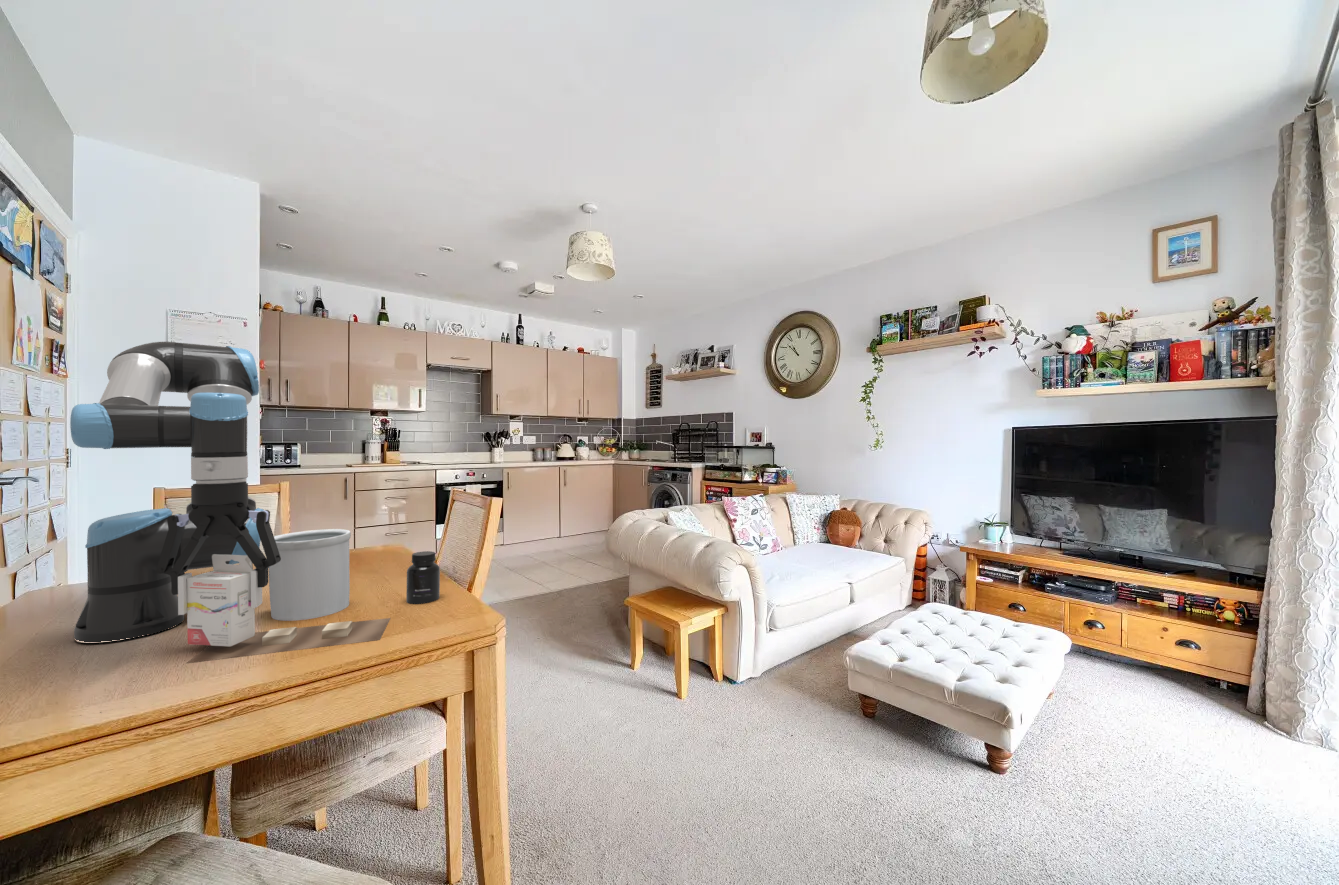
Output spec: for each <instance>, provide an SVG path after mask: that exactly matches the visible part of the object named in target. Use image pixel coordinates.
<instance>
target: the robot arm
mask: <svg viewBox="0 0 1339 885" xmlns="http://www.w3.org/2000/svg"><path fill="white" fill-rule="evenodd" d="M256 364H257V363H256V360H255V357H254V355H253V353H251V351H249V350H248V349H246V348H241V347H233V346H231V345H230V346H229V345H226V346H218V345H210V344H208V345H206V344H197V343H185V342H175V341H154V342H153V341H152V342H148V343H144V344H140V345H137V346H134V347H130V348H127V349H125V350H123V351H121V352H120V353H118V354H117V355H115V356H114V357H113V358H112V360H111V361H110V362H109V364H108V367H107V368H106V369H107V371H106V374H107V379H108V383H107V385H106V387H105V389H104V391H103V393H102V395H101V398H100V399H99V402H94V403H79V404H75V405H74V406H73V407H72V409H71V413H70V424H69V425H70V426H69V427H70V437H71V439H72V442H73V444H74V445H75V446H76V447H78V448H85V449H89V448H90V449H103V450H110V449H145V448H147V449H150V448H151V449H153V448H154V449H155V448H190V449H191V452H190V480H192V481H195V483H193V484H192V485H191V486H190V494H191V495H190V498H191V500H190V502H189V503H188V504H187V505H186V509H185V510H186V511H185V512H186V513H184V514H182V513H176V514H173V511H172V509H170V508H165V507H164V508H156V509H154V508H153V509H146V510H139V511H132V512H127V513H122V514H116V515H112V516H107V517H103V518H101V519H97V520H95V521H93V522H91V524H90V525H89V526H88V528H87V535H86V536H87V538H86V544H85V549H86V555H87V556H86V557H87V559H86V560H87V561H86V562H87V563H86V564H87V598H86V600H85V603H84V605H83V608H82V610H81V612H80V615H79V617H78V619H77V621H76V623H75V626H74V628H73V629H74V630H73V632H74V635H73V639H74V638H75V639H76V640H79V641H84V642H101V641H112V640H120V639H126V638H133V637H138V636H142V635H147V634H151V635H153V634H152V633H155V634H157V633H156V632H158V633H160V632H159V631H162V630H165V629H168V628H170V629H172V628H171V627H173V626H175V625H177V626H178V624H179V623H181V622H182V621H183V620H185V615H187V578H188V577H191V576H193V575H192V574H193V572H188V571H190V570H197V569H206V568H207V569H208V568H213V563H212V555H213V554H218V555H247V556H248V557H249V559H250V560H251V562H252V563H253V567H255V568H253V570H252V571H251V608H254V609H256V608H258V607H259V606H260V605H261V604H263V588H265V587H266V586H268V584H269V566H272V565H275V564H276V563H278V562H280V561H281V557H280V554H279V551H278V548H277V545H276V542H275V539H274V536H275V535H274V533H273V530H272V527H271V524H270V518H271V511H270V510H268V509H263V508H259V507H257V502H256V500H255V499H253V498H252V497H250V496H249V483H247V478H248V477H249V469H248V466H249V464H248V462H249V461H248V416H249V410H248V407H247V406H248V405H249V404H251V402H252V400H253V399H252V398H253V397H254V396H257V395H258V394H259V391H260V384H259V377H258V374H259V373H258V369H257V368H258V367H257V365H256ZM162 392H164V393H165V392H166V393H180V394H181V393H182V394H183V393H184V394H186V396H187V399H188V401H189V402H190V405H189V406H178V405H174V406H173V405H159V403H160V398H161V394H162ZM261 545H262V549H263V551H262V549H260V547H261ZM263 552H264V553H263ZM225 563H226V564H233V565H239V562H238V561H234V560H230V561H226V562H225ZM183 622H184V621H183ZM183 622H182V623H183ZM182 623H181V624H182ZM179 625H180V624H179ZM175 627H176V626H175ZM173 628H174V627H173ZM168 630H169V629H168ZM165 631H166V630H165ZM162 632H163V631H162ZM147 636H148V635H147Z"/></svg>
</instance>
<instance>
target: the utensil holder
mask: <svg viewBox="0 0 1339 885" xmlns="http://www.w3.org/2000/svg"><path fill="white" fill-rule="evenodd" d="M274 539H275V542H276V545H277V548H278V551H279V554H280V557H281V561H280V562H278V563H276V564H275V565H272V566H269V568H268V584H269V585H268V587H269V603H270V604H269V606H270V616H271V618H272V619H273V620H276V621H284V622H285V621H286V622H287V621H288V622H291V621H292V622H294V621H304V620H311V619H316V618H318V619H319V618H321V617H326V616H329V615H333V614H336V613H338V612H341V611H343V610H345V609H346V608H348V607H349V605H350V594H351V593H350V592H351V591H350V590H351V589H350V539H351V530H349V529H343V528H329V529H328V528H327V529H326V528H325V529H313V530H311V529H310V530H303V531H295V532H288V533H283V534H279V535H274Z"/></svg>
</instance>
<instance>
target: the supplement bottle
mask: <svg viewBox="0 0 1339 885" xmlns="http://www.w3.org/2000/svg"><path fill="white" fill-rule="evenodd" d="M435 561H436V552H435V551H429V550H428V551H426V550H425V551H417V552H414V553H412V554H411V563H412V564H411V565H409V566H408V567H407V570H406V603H407V604H410V605H424V604H425V605H426V604H429V603H433V602H436V601H438V600H439V599H440V593H441V592H440V587H441V584H440V582H441V580H440V579H441V577H440V576H441V568H440V565H439V564H437V563H436V562H435Z"/></svg>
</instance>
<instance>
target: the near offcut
mask: <svg viewBox="0 0 1339 885" xmlns="http://www.w3.org/2000/svg"><path fill="white" fill-rule="evenodd" d="M297 628H298V627H297V626H291V627H290V626H289V627H282V628H274V629H269V630H268V631H269V632H268V633H267V634H266V635H265V636H263V637H262V646H267V645H276V644H284V643H290V642H291V641H292V639H293V638H294V637H295V636H296V635H297Z"/></svg>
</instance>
